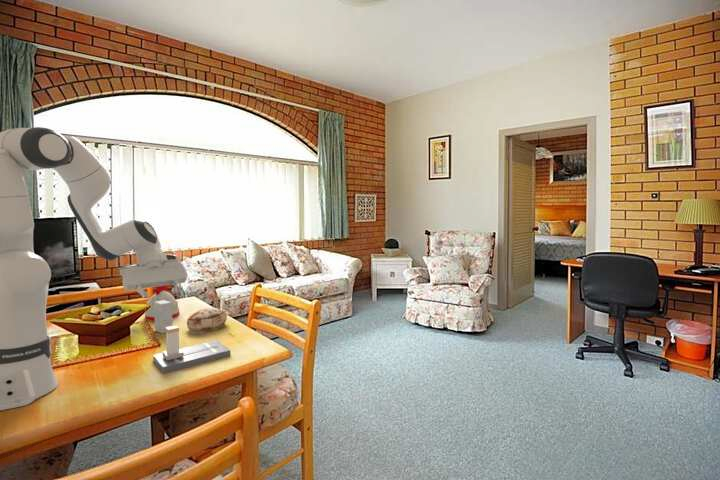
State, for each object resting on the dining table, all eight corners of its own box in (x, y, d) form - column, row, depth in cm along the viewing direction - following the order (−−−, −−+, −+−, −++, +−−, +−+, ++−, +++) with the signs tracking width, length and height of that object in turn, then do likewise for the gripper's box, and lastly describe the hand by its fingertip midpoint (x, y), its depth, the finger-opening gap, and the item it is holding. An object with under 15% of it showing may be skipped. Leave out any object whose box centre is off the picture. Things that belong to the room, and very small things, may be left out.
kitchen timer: (137, 319, 164) (136, 286, 163) (159, 310, 178) (158, 280, 177) (165, 321, 162) (164, 288, 161) (185, 312, 176) (184, 281, 174)
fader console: (163, 373, 113) (163, 366, 113) (153, 360, 122) (153, 354, 122) (230, 355, 127) (230, 349, 127) (217, 345, 136) (216, 339, 136)
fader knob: (166, 360, 117) (165, 331, 116) (162, 355, 121) (161, 327, 120) (183, 356, 120) (182, 327, 119) (179, 351, 124) (178, 324, 123)
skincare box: (173, 330, 151) (172, 302, 150) (162, 333, 147) (161, 304, 146) (164, 328, 154) (163, 299, 153) (154, 330, 150) (153, 301, 149)
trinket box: (230, 323, 162) (230, 305, 161) (213, 335, 147) (213, 315, 146) (201, 321, 163) (201, 304, 163) (181, 333, 148) (181, 314, 148)
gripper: (119, 261, 126) (126, 295, 120) (182, 255, 140) (192, 285, 133) (117, 272, 130) (124, 305, 124) (179, 265, 143) (189, 295, 137)
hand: (160, 295), depth 129 cm, fingers open, 8 cm apart
